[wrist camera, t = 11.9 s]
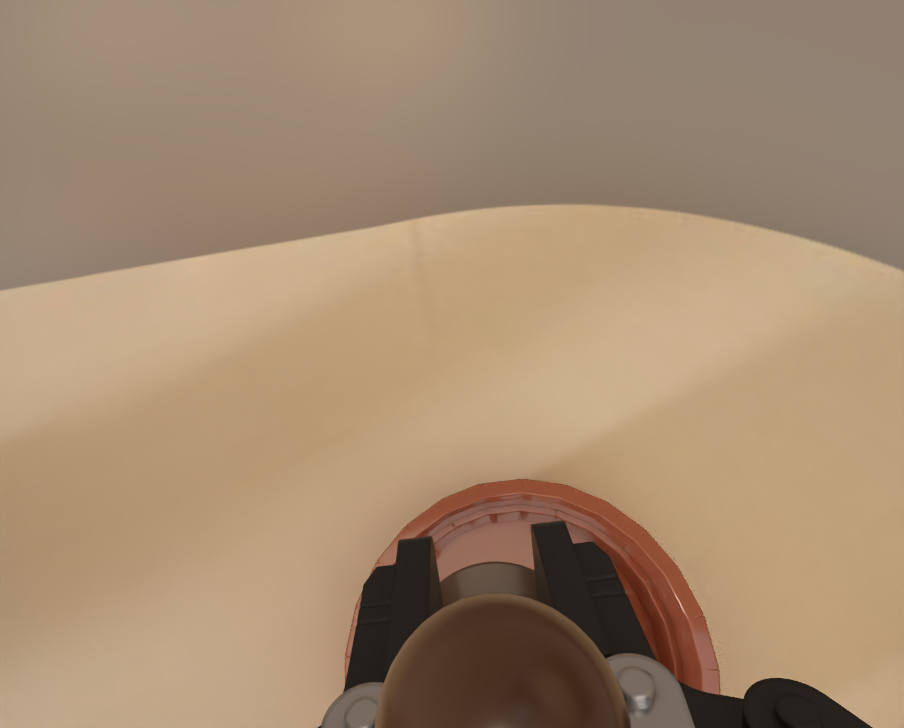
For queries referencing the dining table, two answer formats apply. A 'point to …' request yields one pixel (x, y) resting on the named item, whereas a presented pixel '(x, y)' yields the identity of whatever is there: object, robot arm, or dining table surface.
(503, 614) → the tamper
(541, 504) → the basin
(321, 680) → the dining table surface
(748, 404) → the dining table surface
